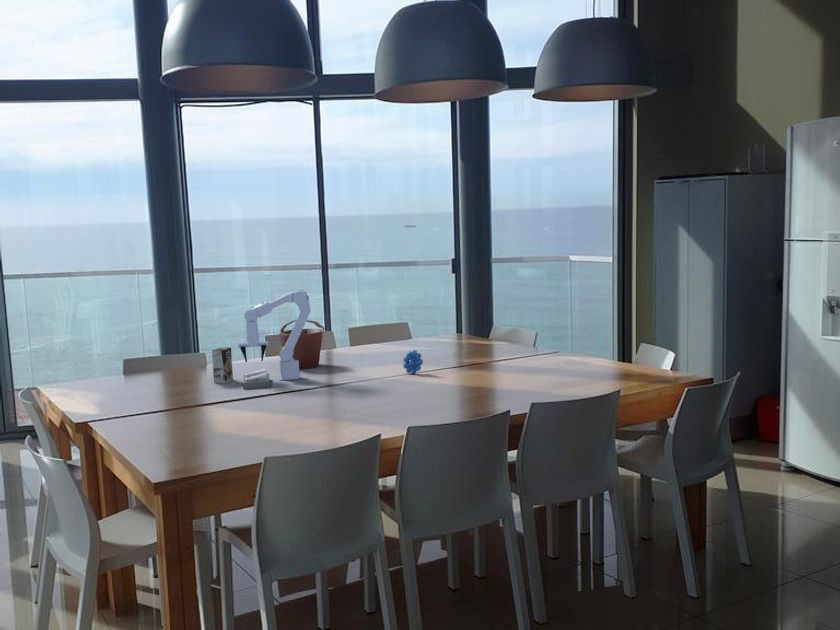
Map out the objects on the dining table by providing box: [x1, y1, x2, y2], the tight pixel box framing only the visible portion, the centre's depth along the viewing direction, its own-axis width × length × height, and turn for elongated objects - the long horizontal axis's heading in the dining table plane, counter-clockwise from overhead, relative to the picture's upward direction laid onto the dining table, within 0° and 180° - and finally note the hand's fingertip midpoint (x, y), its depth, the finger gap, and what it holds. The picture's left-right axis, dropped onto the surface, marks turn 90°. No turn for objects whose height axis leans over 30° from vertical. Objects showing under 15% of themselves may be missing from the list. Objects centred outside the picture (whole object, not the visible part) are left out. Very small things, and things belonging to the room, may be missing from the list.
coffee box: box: [211, 347, 234, 384], centre depth 407 cm, size 9×6×16 cm
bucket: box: [279, 319, 325, 370], centre depth 439 cm, size 24×22×25 cm
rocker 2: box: [245, 372, 267, 381], centre depth 391 cm, size 10×3×1 cm, turn 100°
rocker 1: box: [245, 368, 267, 377], centre depth 402 cm, size 10×3×1 cm, turn 100°
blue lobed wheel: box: [402, 349, 424, 375], centre depth 408 cm, size 12×7×12 cm, turn 55°
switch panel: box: [242, 372, 271, 390], centre depth 397 cm, size 12×20×3 cm, turn 11°
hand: (254, 361), depth 406 cm, fingers open, 7 cm apart
